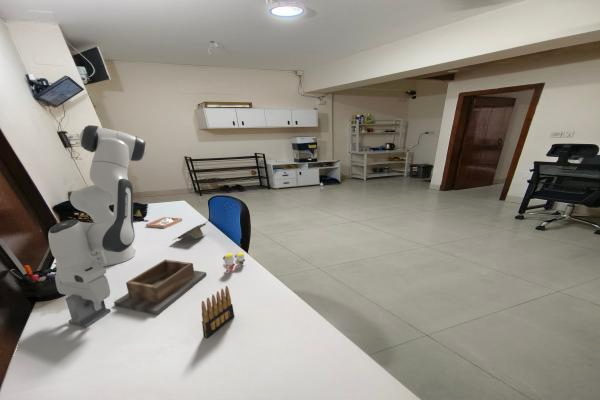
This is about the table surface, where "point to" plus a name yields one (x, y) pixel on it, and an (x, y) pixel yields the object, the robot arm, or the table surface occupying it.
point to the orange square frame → (154, 225)
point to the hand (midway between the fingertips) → (87, 307)
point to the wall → (193, 232)
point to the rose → (165, 221)
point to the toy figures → (229, 261)
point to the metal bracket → (84, 311)
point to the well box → (159, 286)
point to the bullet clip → (217, 313)
